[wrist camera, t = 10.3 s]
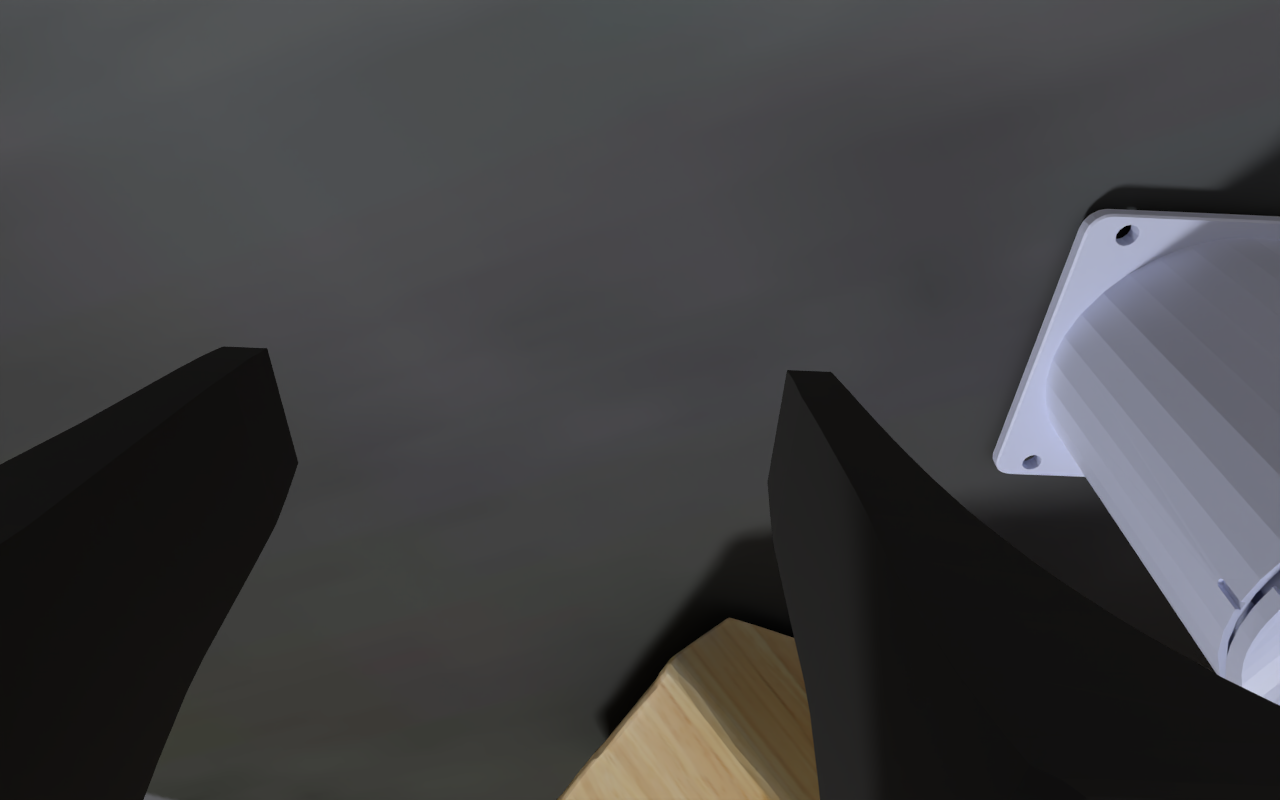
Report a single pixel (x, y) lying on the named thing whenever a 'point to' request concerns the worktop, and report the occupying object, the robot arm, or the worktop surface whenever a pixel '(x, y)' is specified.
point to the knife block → (713, 727)
